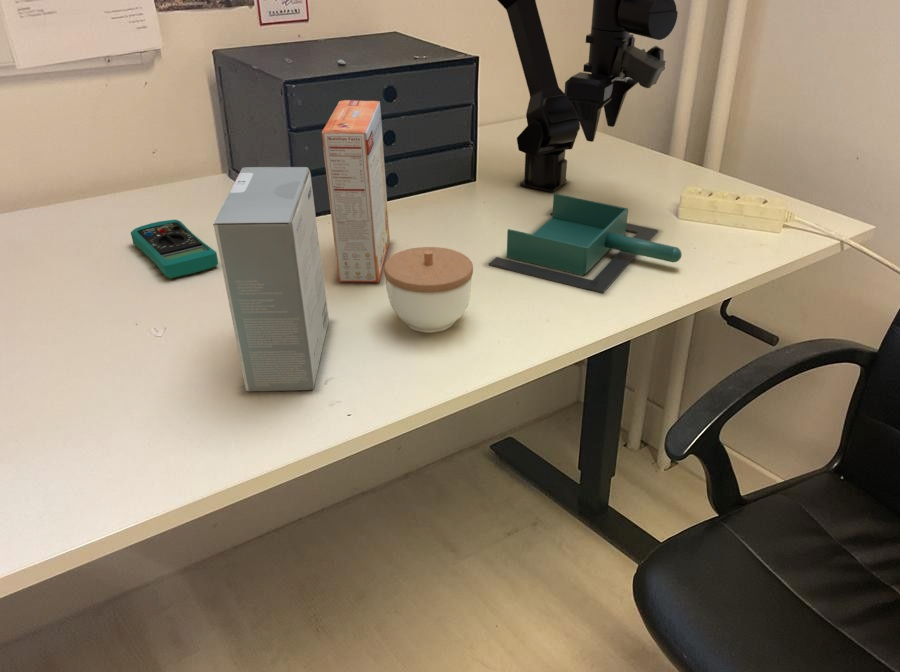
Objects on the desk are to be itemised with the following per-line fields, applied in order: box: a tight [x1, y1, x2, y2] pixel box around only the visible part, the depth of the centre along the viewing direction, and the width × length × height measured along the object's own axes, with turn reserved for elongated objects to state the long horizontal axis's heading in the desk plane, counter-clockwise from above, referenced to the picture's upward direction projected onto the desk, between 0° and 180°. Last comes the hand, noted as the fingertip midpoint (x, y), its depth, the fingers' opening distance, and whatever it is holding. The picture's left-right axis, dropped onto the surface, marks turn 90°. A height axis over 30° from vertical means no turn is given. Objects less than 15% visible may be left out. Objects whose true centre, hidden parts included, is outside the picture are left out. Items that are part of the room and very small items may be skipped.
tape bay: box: [488, 211, 659, 294], centre depth 121 cm, size 18×24×1 cm
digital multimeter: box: [130, 219, 219, 279], centre depth 114 cm, size 7×15×3 cm, turn 39°
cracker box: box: [321, 99, 391, 283], centre depth 110 cm, size 14×6×21 cm, turn 1°
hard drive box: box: [212, 166, 330, 392], centre depth 89 cm, size 16×8×20 cm, turn 5°
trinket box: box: [383, 246, 474, 334], centre depth 99 cm, size 11×11×9 cm
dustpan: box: [506, 193, 683, 277], centre depth 119 cm, size 24×17×4 cm
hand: (600, 133), depth 128 cm, fingers open, 9 cm apart
